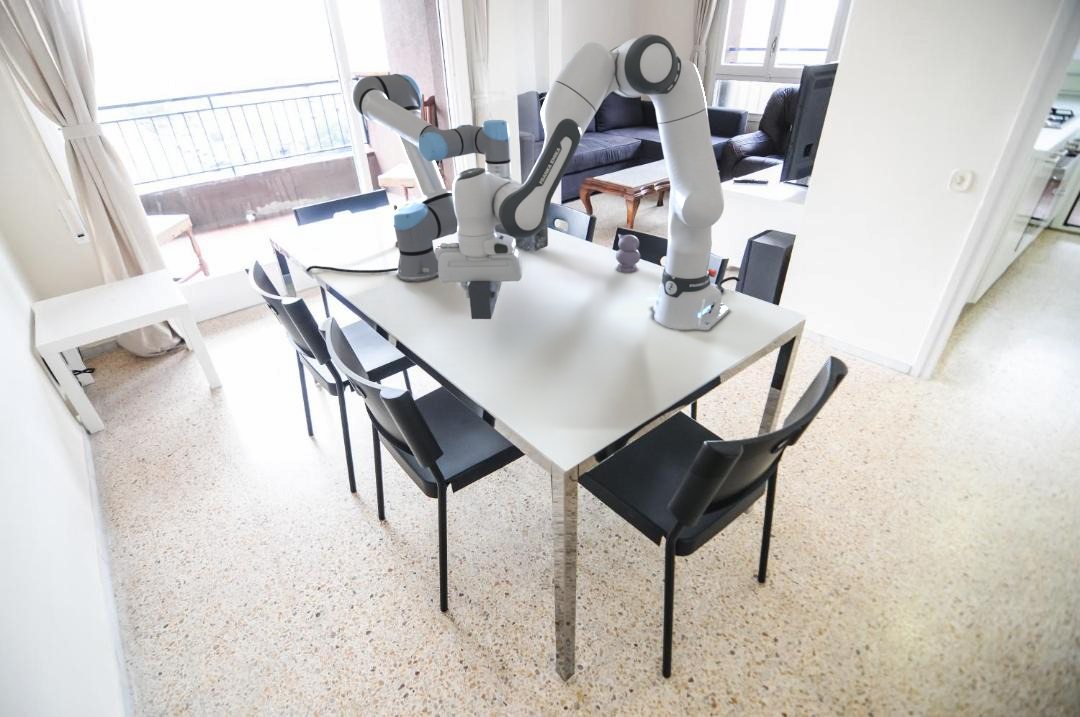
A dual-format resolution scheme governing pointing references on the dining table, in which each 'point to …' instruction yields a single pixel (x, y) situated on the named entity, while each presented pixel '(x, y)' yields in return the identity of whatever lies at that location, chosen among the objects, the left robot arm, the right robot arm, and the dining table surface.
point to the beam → (483, 293)
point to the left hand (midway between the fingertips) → (503, 250)
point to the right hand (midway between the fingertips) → (483, 296)
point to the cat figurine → (627, 253)
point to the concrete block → (534, 240)
